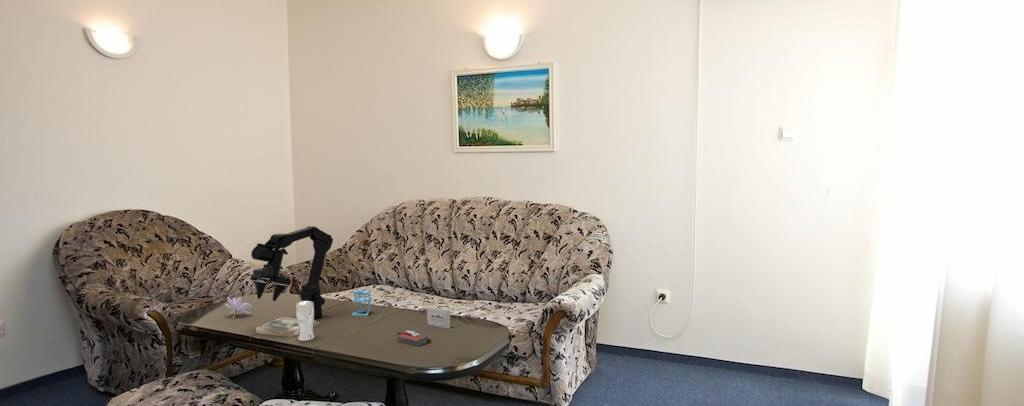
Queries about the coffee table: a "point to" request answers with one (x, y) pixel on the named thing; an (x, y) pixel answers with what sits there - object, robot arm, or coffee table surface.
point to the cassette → (435, 321)
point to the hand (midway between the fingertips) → (266, 299)
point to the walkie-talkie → (412, 338)
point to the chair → (362, 299)
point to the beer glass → (305, 320)
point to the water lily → (238, 306)
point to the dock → (281, 327)
